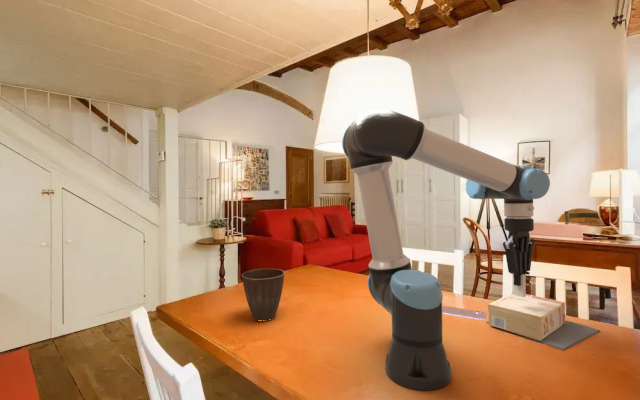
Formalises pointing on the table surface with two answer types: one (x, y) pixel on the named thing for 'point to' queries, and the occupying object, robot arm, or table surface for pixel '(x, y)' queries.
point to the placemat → (566, 335)
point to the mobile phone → (463, 313)
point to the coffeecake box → (527, 315)
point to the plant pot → (263, 291)
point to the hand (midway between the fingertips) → (519, 295)
